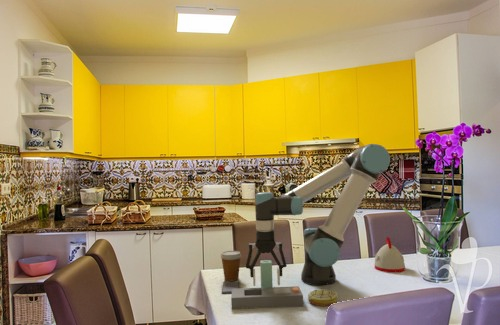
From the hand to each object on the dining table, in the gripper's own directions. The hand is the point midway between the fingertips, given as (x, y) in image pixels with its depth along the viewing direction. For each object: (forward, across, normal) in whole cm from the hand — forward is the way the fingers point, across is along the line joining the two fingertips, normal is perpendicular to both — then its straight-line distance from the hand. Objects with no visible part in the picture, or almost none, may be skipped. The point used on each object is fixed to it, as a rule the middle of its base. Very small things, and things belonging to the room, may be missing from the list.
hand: (266, 284), depth 148 cm
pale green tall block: (+3, 0, 0) cm, 3 cm away
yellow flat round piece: (+3, -20, +14) cm, 25 cm away
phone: (+3, +15, -5) cm, 16 cm away
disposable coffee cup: (+3, +15, -18) cm, 24 cm away
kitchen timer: (+3, -62, -26) cm, 67 cm away
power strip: (+3, +1, +13) cm, 13 cm away
